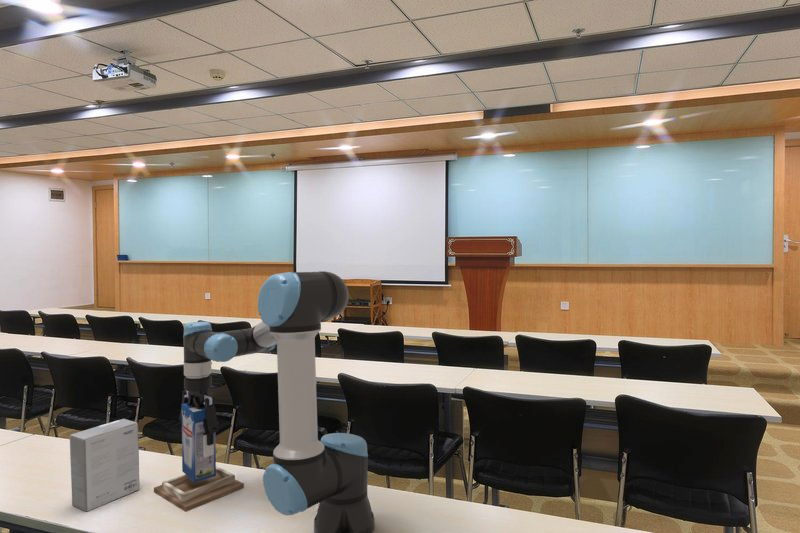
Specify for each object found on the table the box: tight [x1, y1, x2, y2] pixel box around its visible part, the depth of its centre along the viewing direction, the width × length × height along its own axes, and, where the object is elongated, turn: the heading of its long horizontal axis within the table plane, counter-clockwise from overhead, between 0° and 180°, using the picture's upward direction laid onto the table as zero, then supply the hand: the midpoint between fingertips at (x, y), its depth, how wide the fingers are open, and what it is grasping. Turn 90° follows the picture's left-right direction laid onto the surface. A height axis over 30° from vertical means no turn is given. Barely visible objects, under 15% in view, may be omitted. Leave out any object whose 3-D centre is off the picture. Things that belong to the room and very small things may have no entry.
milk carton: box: [181, 403, 217, 482], centre depth 148 cm, size 10×6×20 cm, turn 41°
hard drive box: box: [69, 418, 141, 513], centre depth 143 cm, size 16×8×20 cm, turn 149°
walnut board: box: [153, 465, 245, 512], centre depth 148 cm, size 18×18×3 cm
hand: (198, 450), depth 148 cm, fingers closed on milk carton, 10 cm apart
